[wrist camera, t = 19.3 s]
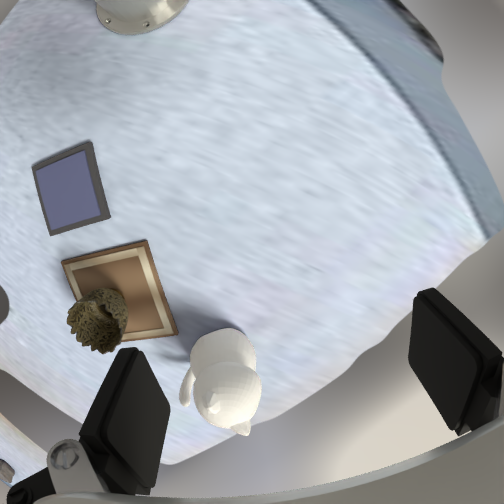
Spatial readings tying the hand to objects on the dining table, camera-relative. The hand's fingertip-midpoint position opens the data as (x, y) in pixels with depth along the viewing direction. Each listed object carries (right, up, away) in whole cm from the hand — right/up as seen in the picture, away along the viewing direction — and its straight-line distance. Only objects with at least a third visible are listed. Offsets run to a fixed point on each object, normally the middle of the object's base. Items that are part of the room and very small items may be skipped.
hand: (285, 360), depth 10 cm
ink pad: (-25, +12, +25) cm, 37 cm away
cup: (-20, -3, +30) cm, 36 cm away
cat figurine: (-6, -11, +34) cm, 36 cm away
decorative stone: (-97, -79, +56) cm, 137 cm away
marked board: (-20, -3, +31) cm, 36 cm away
